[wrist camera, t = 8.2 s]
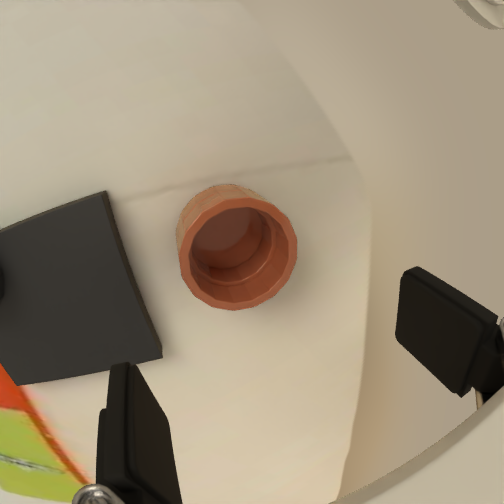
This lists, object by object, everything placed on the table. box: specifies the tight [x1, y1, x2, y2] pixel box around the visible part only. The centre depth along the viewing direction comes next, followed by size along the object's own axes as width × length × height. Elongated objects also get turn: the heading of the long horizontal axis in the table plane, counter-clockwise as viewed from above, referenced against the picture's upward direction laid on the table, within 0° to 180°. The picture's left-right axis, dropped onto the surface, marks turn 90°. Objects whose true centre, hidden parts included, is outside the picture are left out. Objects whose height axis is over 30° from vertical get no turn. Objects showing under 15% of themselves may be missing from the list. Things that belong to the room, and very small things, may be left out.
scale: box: [0, 191, 163, 386], centre depth 17 cm, size 13×14×3 cm
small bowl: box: [176, 184, 297, 311], centre depth 18 cm, size 6×6×4 cm
